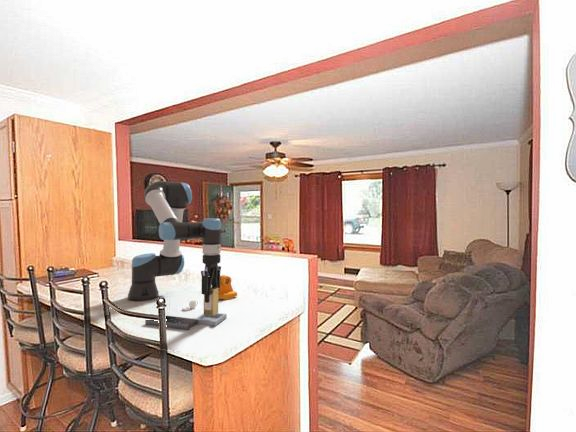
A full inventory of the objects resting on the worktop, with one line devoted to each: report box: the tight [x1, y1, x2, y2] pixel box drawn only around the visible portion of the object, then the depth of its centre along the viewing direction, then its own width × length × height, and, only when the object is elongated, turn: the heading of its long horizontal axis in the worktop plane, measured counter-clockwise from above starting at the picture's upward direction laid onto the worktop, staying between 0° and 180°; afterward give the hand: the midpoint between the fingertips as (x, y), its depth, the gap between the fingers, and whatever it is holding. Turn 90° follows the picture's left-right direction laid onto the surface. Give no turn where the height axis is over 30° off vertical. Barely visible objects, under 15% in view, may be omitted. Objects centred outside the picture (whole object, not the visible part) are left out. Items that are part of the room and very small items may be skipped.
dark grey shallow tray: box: [144, 315, 199, 331], centre depth 125 cm, size 20×7×2 cm, turn 75°
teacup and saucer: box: [182, 300, 202, 312], centre depth 147 cm, size 9×8×4 cm
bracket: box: [218, 274, 238, 301], centre depth 167 cm, size 11×7×12 cm, turn 131°
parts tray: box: [194, 312, 227, 327], centre depth 131 cm, size 10×10×2 cm
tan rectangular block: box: [203, 286, 219, 316], centre depth 131 cm, size 4×4×11 cm
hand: (211, 307), depth 131 cm, fingers closed on tan rectangular block, 4 cm apart
